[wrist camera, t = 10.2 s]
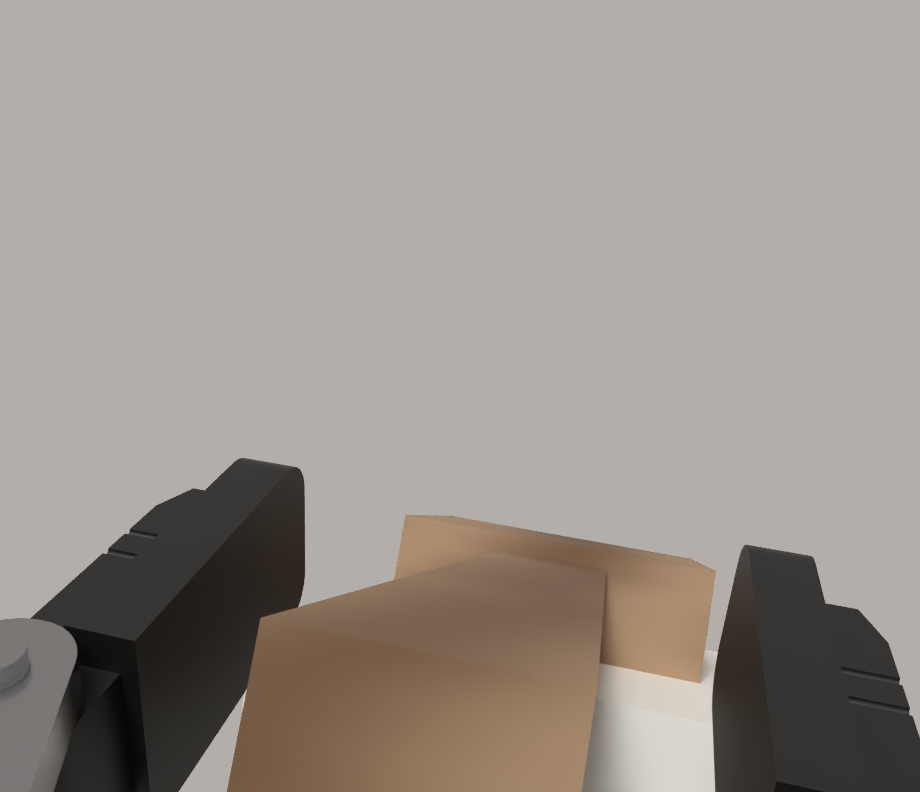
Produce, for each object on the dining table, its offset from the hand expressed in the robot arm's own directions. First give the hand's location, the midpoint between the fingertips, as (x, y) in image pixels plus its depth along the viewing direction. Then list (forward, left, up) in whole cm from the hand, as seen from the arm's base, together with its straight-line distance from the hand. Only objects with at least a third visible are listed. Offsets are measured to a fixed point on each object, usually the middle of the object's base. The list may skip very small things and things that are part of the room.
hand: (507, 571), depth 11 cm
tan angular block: (0, +6, -2) cm, 7 cm away
